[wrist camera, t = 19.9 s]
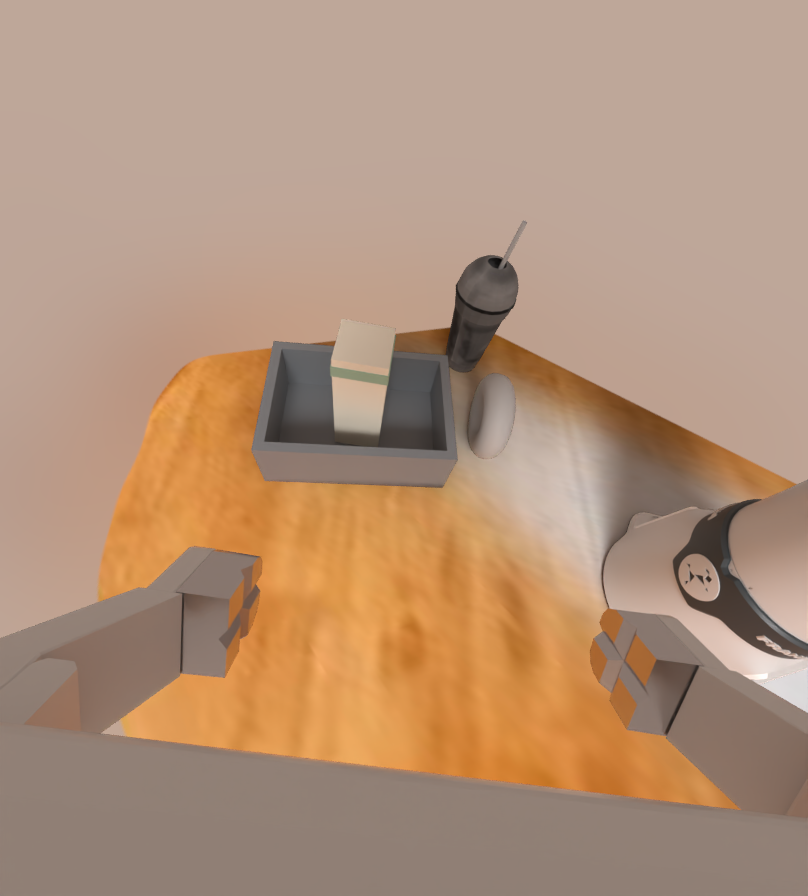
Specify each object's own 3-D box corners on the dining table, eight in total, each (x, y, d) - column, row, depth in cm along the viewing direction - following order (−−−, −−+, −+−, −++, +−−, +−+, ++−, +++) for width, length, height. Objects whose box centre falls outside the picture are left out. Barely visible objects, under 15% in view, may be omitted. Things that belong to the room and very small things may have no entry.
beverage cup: (433, 340, 56) (472, 196, 39) (480, 342, 57) (539, 203, 40) (438, 379, 53) (484, 240, 35) (489, 380, 54) (557, 246, 36)
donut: (464, 404, 51) (488, 352, 42) (489, 408, 51) (518, 357, 43) (463, 471, 46) (490, 427, 37) (491, 475, 46) (525, 432, 38)
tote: (435, 391, 51) (447, 355, 45) (442, 487, 45) (457, 459, 39) (282, 380, 49) (273, 341, 43) (265, 480, 42) (251, 450, 36)
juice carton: (384, 413, 47) (397, 327, 35) (378, 449, 45) (390, 370, 33) (342, 406, 47) (341, 317, 35) (334, 442, 44) (329, 359, 32)
